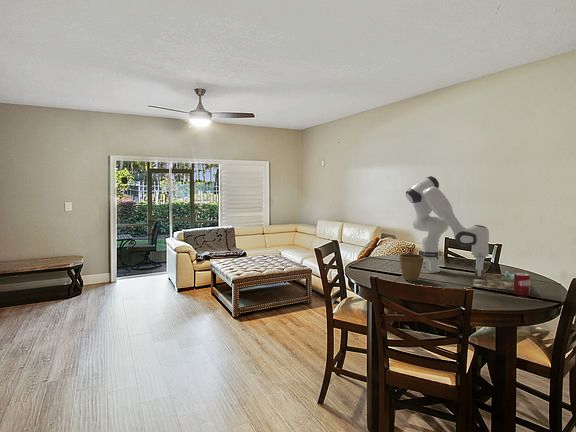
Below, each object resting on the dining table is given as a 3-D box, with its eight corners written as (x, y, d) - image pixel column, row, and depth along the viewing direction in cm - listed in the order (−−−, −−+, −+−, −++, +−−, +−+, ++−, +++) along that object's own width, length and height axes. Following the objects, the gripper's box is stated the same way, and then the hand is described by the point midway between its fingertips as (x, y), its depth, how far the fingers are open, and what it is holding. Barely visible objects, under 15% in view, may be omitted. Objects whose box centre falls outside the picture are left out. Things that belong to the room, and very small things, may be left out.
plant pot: (406, 283, 208) (406, 258, 207) (394, 277, 223) (395, 254, 222) (428, 282, 210) (428, 257, 209) (415, 276, 225) (416, 253, 224)
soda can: (510, 294, 184) (510, 272, 184) (522, 293, 185) (523, 272, 184) (520, 298, 177) (521, 275, 176) (533, 297, 178) (534, 275, 177)
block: (475, 277, 202) (475, 269, 202) (475, 275, 206) (475, 268, 206) (483, 277, 200) (483, 270, 199) (483, 276, 204) (483, 269, 203)
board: (473, 287, 198) (473, 277, 197) (473, 280, 213) (473, 271, 212) (522, 293, 186) (522, 282, 186) (519, 285, 201) (519, 275, 200)
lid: (505, 279, 191) (506, 275, 191) (504, 274, 203) (504, 270, 203) (523, 281, 187) (523, 276, 187) (520, 276, 199) (520, 271, 199)
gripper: (486, 255, 191) (485, 279, 192) (486, 250, 209) (485, 271, 210) (473, 254, 195) (472, 277, 195) (474, 249, 212) (473, 270, 213)
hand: (479, 274), depth 203 cm, fingers closed on block, 4 cm apart
